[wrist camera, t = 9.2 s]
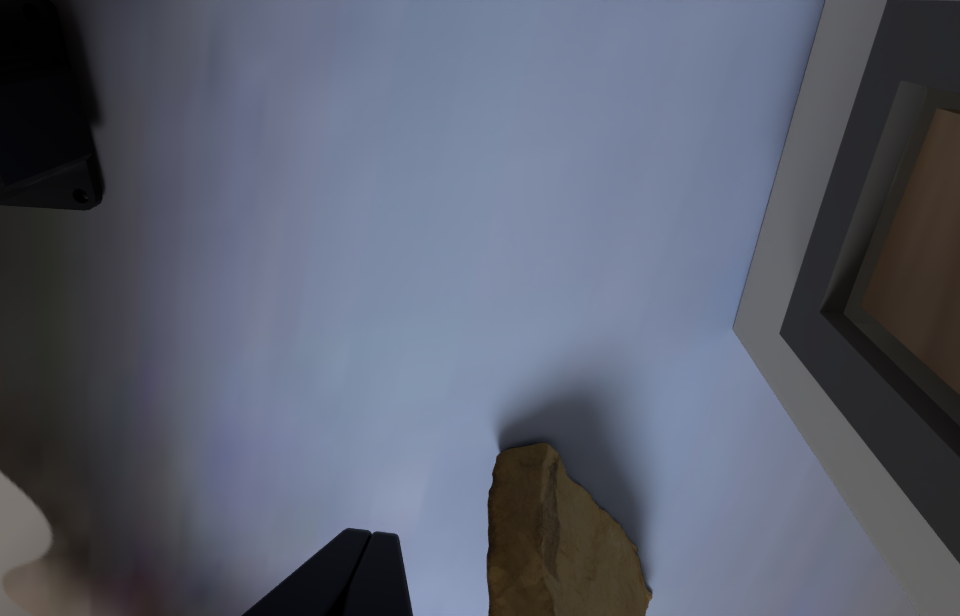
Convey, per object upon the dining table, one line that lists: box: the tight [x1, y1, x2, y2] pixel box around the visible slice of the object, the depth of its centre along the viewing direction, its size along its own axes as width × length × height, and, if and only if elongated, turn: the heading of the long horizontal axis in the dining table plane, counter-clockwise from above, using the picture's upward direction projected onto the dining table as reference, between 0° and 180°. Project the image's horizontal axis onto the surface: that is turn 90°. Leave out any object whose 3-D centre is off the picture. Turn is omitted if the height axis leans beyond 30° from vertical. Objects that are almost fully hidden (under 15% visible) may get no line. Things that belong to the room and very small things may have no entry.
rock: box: [487, 443, 652, 616], centre depth 24 cm, size 11×9×10 cm
